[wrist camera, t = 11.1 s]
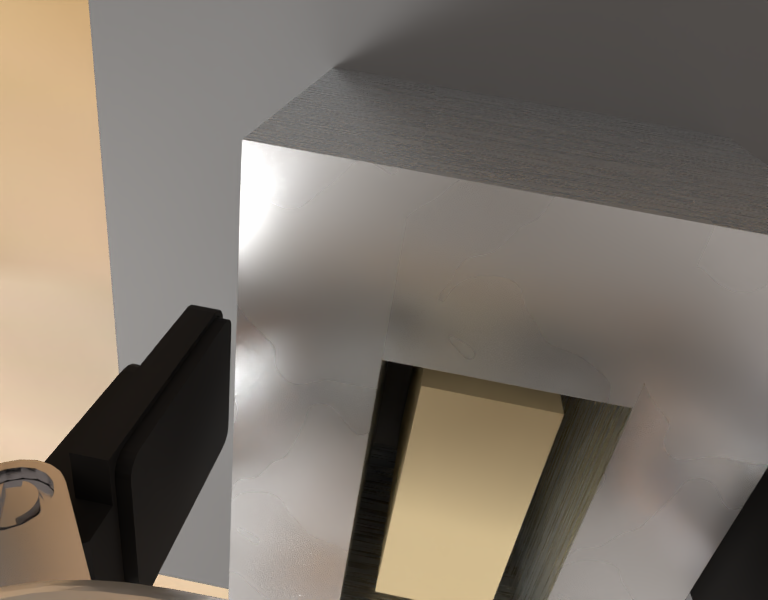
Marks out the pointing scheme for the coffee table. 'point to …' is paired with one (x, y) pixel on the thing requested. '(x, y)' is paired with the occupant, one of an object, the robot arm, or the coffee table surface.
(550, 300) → the slotted block
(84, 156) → the coffee table surface
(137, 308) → the grey piece
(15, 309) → the coffee table surface
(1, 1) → the coffee table surface
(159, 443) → the robot arm
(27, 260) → the coffee table surface
